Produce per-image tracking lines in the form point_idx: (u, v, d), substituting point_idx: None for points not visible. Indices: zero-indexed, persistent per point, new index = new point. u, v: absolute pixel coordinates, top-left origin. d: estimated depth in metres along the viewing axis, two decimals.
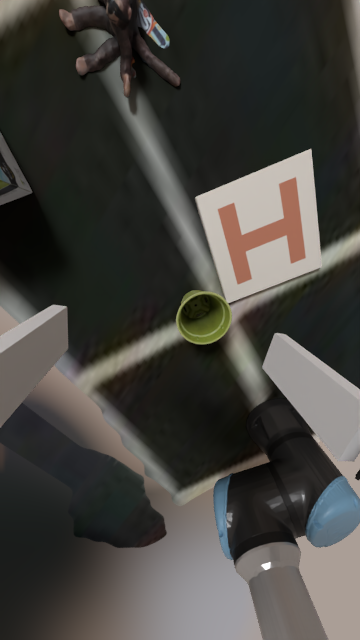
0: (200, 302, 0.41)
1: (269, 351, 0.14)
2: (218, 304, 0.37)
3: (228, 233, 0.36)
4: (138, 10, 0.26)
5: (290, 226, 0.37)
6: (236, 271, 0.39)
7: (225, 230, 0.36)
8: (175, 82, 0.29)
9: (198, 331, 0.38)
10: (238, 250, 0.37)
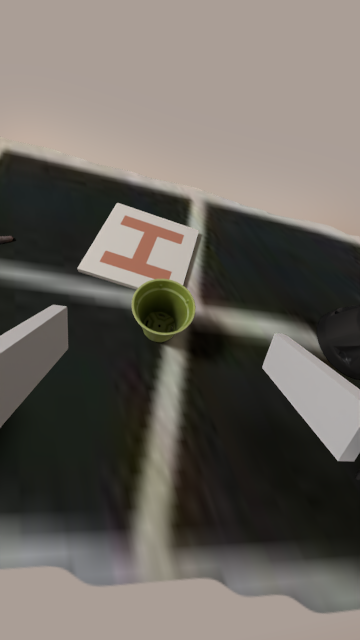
0: (160, 321, 0.37)
1: (269, 351, 0.14)
2: (166, 296, 0.34)
3: (122, 265, 0.40)
4: None
5: (153, 232, 0.45)
6: (156, 277, 0.40)
7: (118, 266, 0.40)
8: (9, 238, 0.38)
9: (179, 328, 0.32)
10: (140, 267, 0.41)
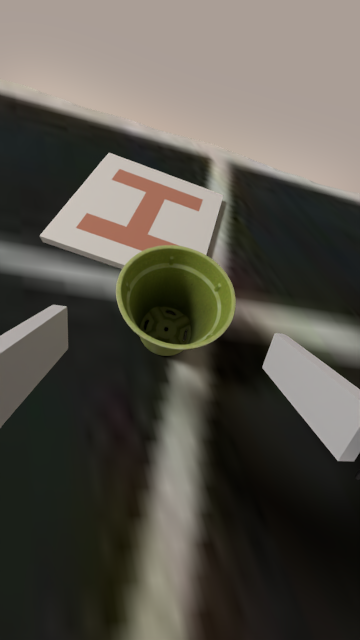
0: (168, 321, 0.23)
1: (269, 351, 0.14)
2: (180, 280, 0.20)
3: (111, 235, 0.26)
4: None
5: (159, 193, 0.31)
6: None
7: (105, 235, 0.26)
8: None
9: (202, 335, 0.18)
10: (139, 238, 0.27)
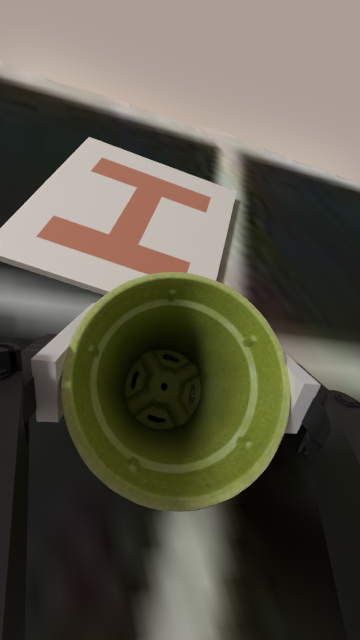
0: (167, 373, 0.16)
1: None
2: (185, 321, 0.13)
3: (87, 246, 0.19)
4: None
5: (154, 188, 0.24)
6: None
7: (78, 247, 0.19)
8: None
9: (225, 423, 0.11)
10: (126, 251, 0.19)
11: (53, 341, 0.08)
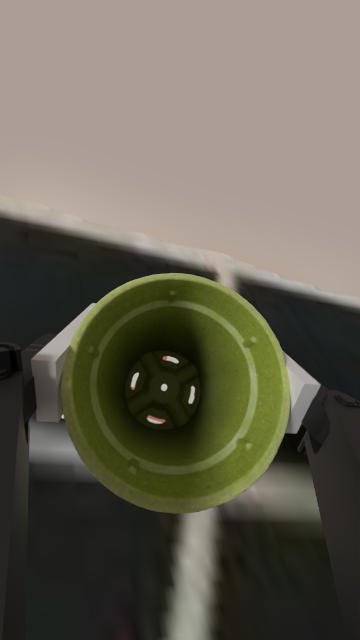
0: (167, 374, 0.16)
1: None
2: (185, 322, 0.13)
3: None
4: None
5: None
6: None
7: None
8: None
9: (225, 424, 0.11)
10: None
11: (53, 341, 0.08)
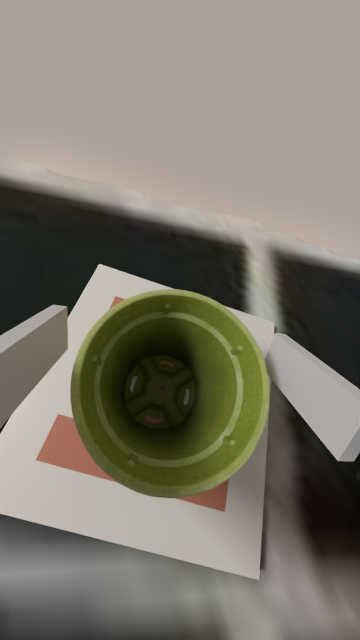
0: (163, 377, 0.17)
1: (269, 351, 0.14)
2: (179, 330, 0.14)
3: None
4: None
5: None
6: None
7: (90, 468, 0.14)
8: None
9: (215, 423, 0.12)
10: None
11: None
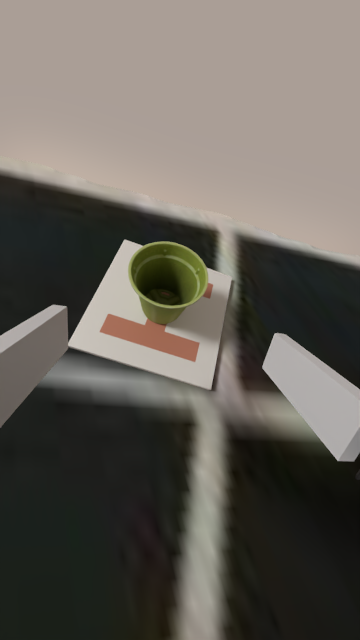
0: (163, 299, 0.31)
1: (269, 351, 0.14)
2: (171, 267, 0.28)
3: (131, 336, 0.28)
4: None
5: None
6: (179, 353, 0.29)
7: (126, 338, 0.28)
8: None
9: None
10: (157, 337, 0.29)
11: None
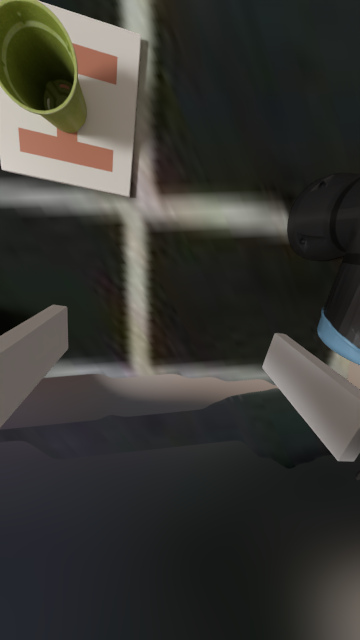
0: (64, 97, 0.29)
1: (269, 351, 0.14)
2: (44, 41, 0.24)
3: (49, 152, 0.32)
4: None
5: None
6: (96, 164, 0.33)
7: (45, 154, 0.32)
8: None
9: None
10: (72, 150, 0.32)
11: None
